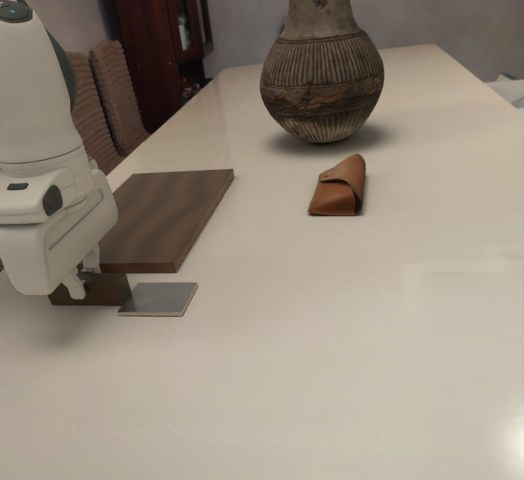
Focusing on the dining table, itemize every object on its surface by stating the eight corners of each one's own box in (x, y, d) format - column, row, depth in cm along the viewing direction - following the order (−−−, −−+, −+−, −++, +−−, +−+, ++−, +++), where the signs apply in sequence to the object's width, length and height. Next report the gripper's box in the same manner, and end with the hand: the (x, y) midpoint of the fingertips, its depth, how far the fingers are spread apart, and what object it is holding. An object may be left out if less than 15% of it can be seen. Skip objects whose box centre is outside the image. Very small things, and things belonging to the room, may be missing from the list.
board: (40, 273, 74) (37, 264, 74) (134, 181, 103) (132, 173, 102) (176, 272, 71) (174, 262, 70) (234, 176, 99) (233, 168, 99)
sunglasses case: (316, 173, 95) (335, 138, 90) (351, 191, 95) (371, 158, 91) (305, 213, 81) (327, 175, 76) (346, 235, 81) (369, 198, 77)
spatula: (42, 315, 65) (33, 292, 63) (68, 286, 71) (60, 264, 69) (182, 316, 62) (176, 292, 60) (198, 285, 67) (193, 262, 65)
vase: (286, 125, 125) (275, -31, 108) (391, 124, 117) (398, -45, 99) (248, 159, 107) (227, -21, 90) (370, 160, 99) (373, -38, 81)
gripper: (67, 149, 66) (98, 250, 75) (-32, 215, 50) (22, 334, 59) (113, 147, 65) (140, 249, 73) (28, 213, 49) (74, 335, 57)
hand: (87, 288), depth 66 cm, fingers closed on spatula, 2 cm apart
